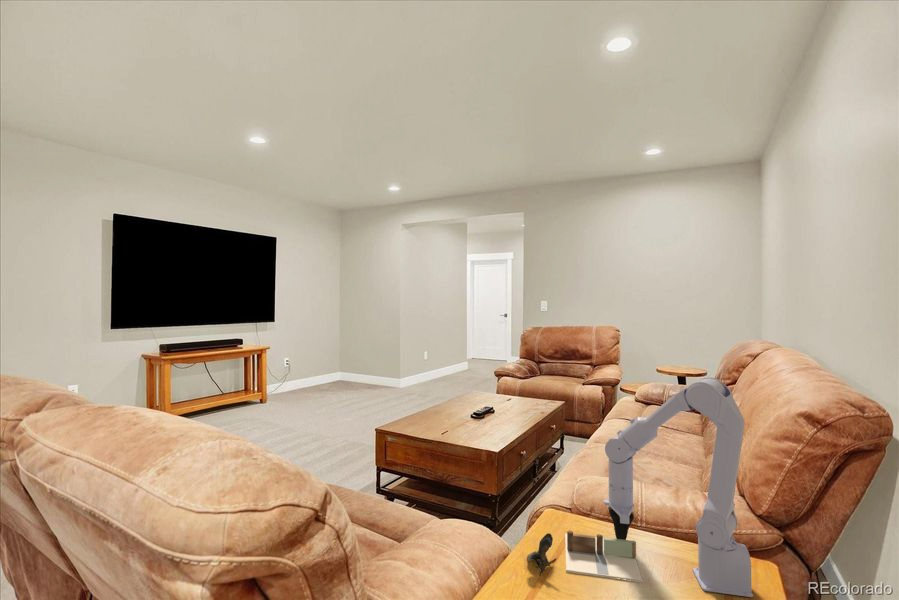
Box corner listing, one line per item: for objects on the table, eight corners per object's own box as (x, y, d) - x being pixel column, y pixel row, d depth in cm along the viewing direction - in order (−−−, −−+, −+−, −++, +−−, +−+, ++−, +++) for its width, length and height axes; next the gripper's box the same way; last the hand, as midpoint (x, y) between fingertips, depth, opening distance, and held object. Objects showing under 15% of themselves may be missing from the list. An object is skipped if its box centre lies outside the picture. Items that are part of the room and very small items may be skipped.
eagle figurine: (566, 573, 99) (559, 544, 108) (549, 548, 98) (543, 521, 107) (537, 587, 100) (532, 558, 109) (519, 563, 99) (517, 535, 108)
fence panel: (604, 554, 107) (604, 539, 107) (603, 551, 108) (603, 537, 108) (636, 558, 105) (636, 543, 105) (635, 555, 106) (635, 540, 106)
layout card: (629, 543, 113) (629, 540, 113) (641, 582, 97) (641, 580, 97) (565, 535, 117) (565, 533, 117) (566, 572, 101) (566, 569, 101)
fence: (602, 552, 108) (602, 534, 108) (603, 555, 107) (603, 537, 107) (567, 548, 110) (567, 530, 110) (567, 551, 109) (567, 533, 109)
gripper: (601, 472, 119) (601, 523, 119) (606, 494, 105) (606, 552, 105) (629, 475, 118) (629, 526, 117) (638, 498, 104) (639, 556, 103)
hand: (620, 539), depth 111 cm, fingers closed
